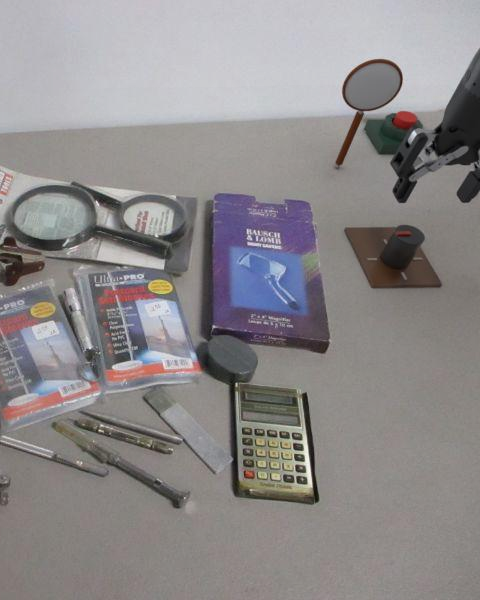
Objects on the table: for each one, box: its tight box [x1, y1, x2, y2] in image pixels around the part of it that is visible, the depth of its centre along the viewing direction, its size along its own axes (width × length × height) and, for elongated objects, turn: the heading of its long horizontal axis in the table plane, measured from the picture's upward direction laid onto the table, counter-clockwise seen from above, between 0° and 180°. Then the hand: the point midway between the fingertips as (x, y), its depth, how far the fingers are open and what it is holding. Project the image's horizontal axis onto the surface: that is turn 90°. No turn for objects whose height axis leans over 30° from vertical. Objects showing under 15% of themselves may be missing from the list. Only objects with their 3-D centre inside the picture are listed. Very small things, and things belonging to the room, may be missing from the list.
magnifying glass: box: [334, 58, 404, 169], centre depth 97 cm, size 9×2×20 cm, turn 81°
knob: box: [381, 224, 426, 269], centre depth 85 cm, size 4×4×5 cm
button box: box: [363, 112, 424, 155], centre depth 109 cm, size 9×8×4 cm
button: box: [393, 110, 419, 130], centre depth 107 cm, size 4×4×2 cm
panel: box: [343, 226, 443, 289], centre depth 88 cm, size 10×12×3 cm
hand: (430, 199), depth 78 cm, fingers open, 8 cm apart
